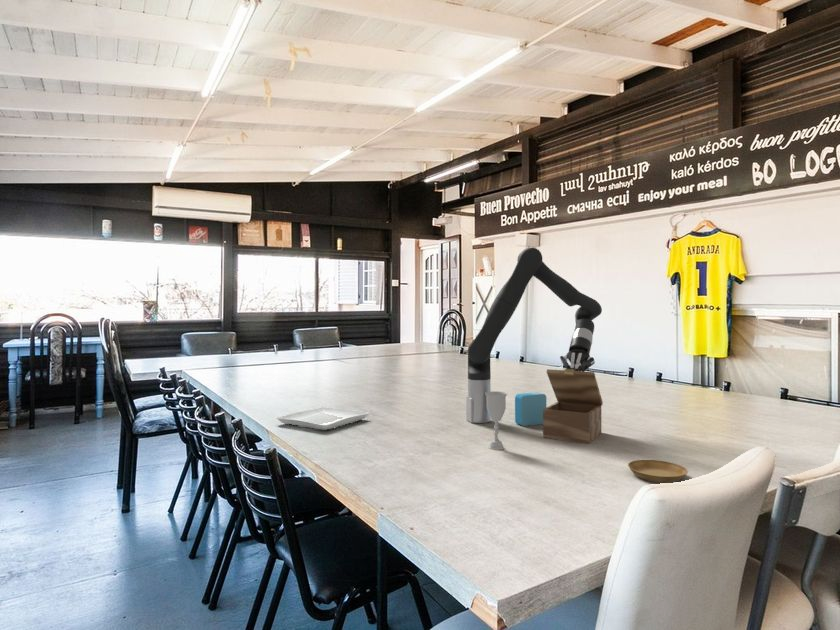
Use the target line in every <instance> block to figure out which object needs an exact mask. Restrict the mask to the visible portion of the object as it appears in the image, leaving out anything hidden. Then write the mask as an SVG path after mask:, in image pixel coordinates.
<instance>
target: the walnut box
mask: <svg viewBox="0 0 840 630" xmlns="http://www.w3.org/2000/svg"><path fill="white" fill-rule="evenodd" d="M542 427H543V428H542V432H543V433H542V434H543V435H542V437H543V438H544V437H546V438H545V439H551V438H553V439H554V440H559V439H561V441H566V440H567V441H568V442H574V441H575V442H576V443H581V442H583V443H584V444H589V443H590V442H591V441H592V440H593V441H594V440H596V439H597V437H598V436H599V435H601V433H602V405H592V404H581V403H570V402H559V401H555V402H554V403H553V404H550V405H548V406H546V408H545V409H543V424H542ZM553 439H552V440H553ZM593 441H592V442H593ZM592 442H591V443H592ZM591 443H590V444H591Z"/></svg>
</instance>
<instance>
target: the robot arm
mask: <svg viewBox="0 0 840 630" xmlns="http://www.w3.org/2000/svg"><path fill="white" fill-rule="evenodd" d="M533 277H534V278H536V279H537V280H538V281H540V282H541V283H542V284H543V285H545V287H547V288H548V289H549V290H550V291H551V293H553V294H554V295H556V296H557V297H558V298H559V299H560V300H561V301H562V302H563V303H564V304H565V305H567V306H568V307H571V308H572V307H574V306H580V307H578V308H577V309H576V311H575V314H574V318H575V328H574V331H573V333H572V336H571V339H570V344H569V348H568V351H567V353H566V355H564V356H563V355H561V356H559V359H560V361H561V363H562V365H563V366H564V368H565V369H574V371H584V372H586V370H587V371H588V369H589V368H591V367H592V366H593V365H594V364H595V363H596V362H595V359H594V357H591V355H590V353H591V349H592V345H593V336H594V332H595V322H593V321H594V320H595V319H596V318H597V317H599V316H601V314H602V310H603V309H602V306H601V304H600V303H599V302H598V301H597V300H596V299H594V298H592V297H590V296H588V295H586V294H585V293H582V292H580V291H579V290H578V289H577V288H576V287H575V286H573V285H572V284H571V283H570V282H568V281H567V280H566V279H564V278H563V277H561V276H560V275H559V274H557V273H556V272H555V271H553V270H552V269H551V268H550V267H548V265H547V264H545V262H544V261H543V255H542V252H541V251H540V250H539V249H537V248H536V247H528V248H525V249H524V250H522V251H521V252H520V253H519V254H518V256H517V263H516V265H515V267H514V270H513V271H512V273H511V275H510V277H509V278H508V280H507V281H506V282H505V284H504V285H503V286H502V288H500V290H499V291H498V293H497V295H496V297H495V298H494V300H493V302H492V304H491V305H490V308H489V310H488V312H487V314H486V318H485V319H484V323H483V324H482V327H481V328H480V330H479V332H478V334H477V335H476V336H475V337H474V339H473V340H472V341H471V342H470V343H469V345H468V347H467V396H466V399H465V401H466V403H465V404H466V410H465V411H466V413H465V414H466V421H468V422H469V423H471V424H473V423H475V424H484V423H485V424H486V423H489V422H491V421H492V419H491V417H490V415H489V413H488V410H487V396H486V394H485V392H492V389H491V388H492V387H491V385H492V384H491V382H492V381H491V380H492V379H491V377H492V376H491V353H492V351H493V348H494V345H495V344H496V342H497V340H498V337H499V336H500V334H501V333H502V332H503V330H504V328H505V327H506V326H507V324H508V323H509V321H510V319H511V318H512V317H513V315H514V313H515V311H516V309H517V307H519V306H518V305H519V304H520V301H521V299H522V297H523V295H524V293H525V290H526V289H527V286H528V284H529V283H530V281H531V279H532V278H533ZM568 361H569V363H570V364H569V363H568Z"/></svg>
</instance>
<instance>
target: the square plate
mask: <svg viewBox="0 0 840 630" xmlns="http://www.w3.org/2000/svg"><path fill="white" fill-rule="evenodd" d="M320 413H325V414H329V415H334V416H337V417H343V418H342V419H337V420H335V421H333V422H328V423H323V424H316V423H311V422H306V421H301V420H300V419H304V418H308V417H311V416H314V415H317V414H320ZM370 414H371V413H370V412H367V411H361V410H355V409H346V408H340V407H339V408H338V407H327V406H325V407H324V406H321V407H317V408H312V409H311V408H310V409H306V410H301V411H296V412H292V413H289V414H284V415H281V416H277V417H276V418H275V419H276V420H278V421H279V422H281V423H283V424H284V423H285V424H284V425H289V424H292V425H291V426H293V425H298V426H297V427H299V426H304V427H303V428H305V427H310V428H309V429H311V428H315V429H314V430H317V429H322V430H321V431H326V430H327V429H329V430H332V429H331V428H334V427H337V428H339V427H338V426H340V427H342V426H341V425H344V426H346V425H345V424H347V425H349V424H348V423H351V424H353V423H352V422H354V423H356V422H358V421H361V420H363V419H366V418H367V417H368V416H369V415H370ZM355 421H356V422H355ZM334 429H335V428H334ZM327 431H328V430H327Z"/></svg>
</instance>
